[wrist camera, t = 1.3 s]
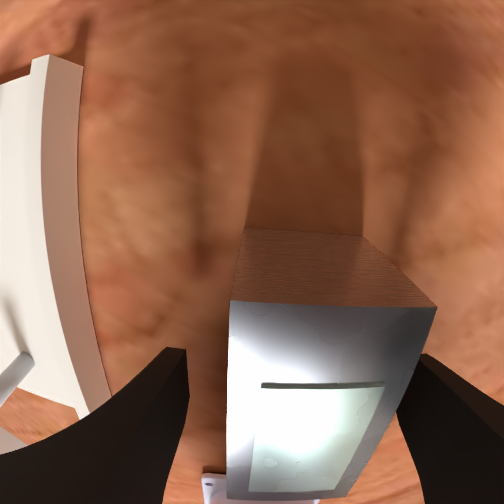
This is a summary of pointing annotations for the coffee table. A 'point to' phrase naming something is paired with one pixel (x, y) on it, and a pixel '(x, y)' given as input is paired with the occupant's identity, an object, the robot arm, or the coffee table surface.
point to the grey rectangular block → (315, 361)
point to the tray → (44, 243)
